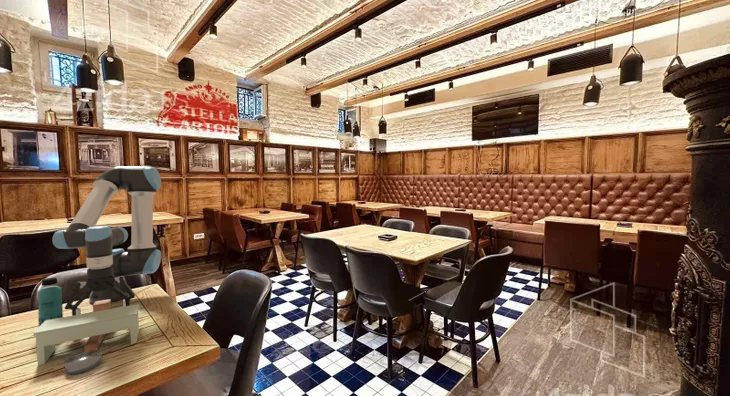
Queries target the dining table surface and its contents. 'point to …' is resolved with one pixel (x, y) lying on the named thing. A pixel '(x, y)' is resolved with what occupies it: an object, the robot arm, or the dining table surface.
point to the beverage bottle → (49, 301)
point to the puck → (83, 362)
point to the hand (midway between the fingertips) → (102, 320)
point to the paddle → (96, 340)
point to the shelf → (85, 328)
